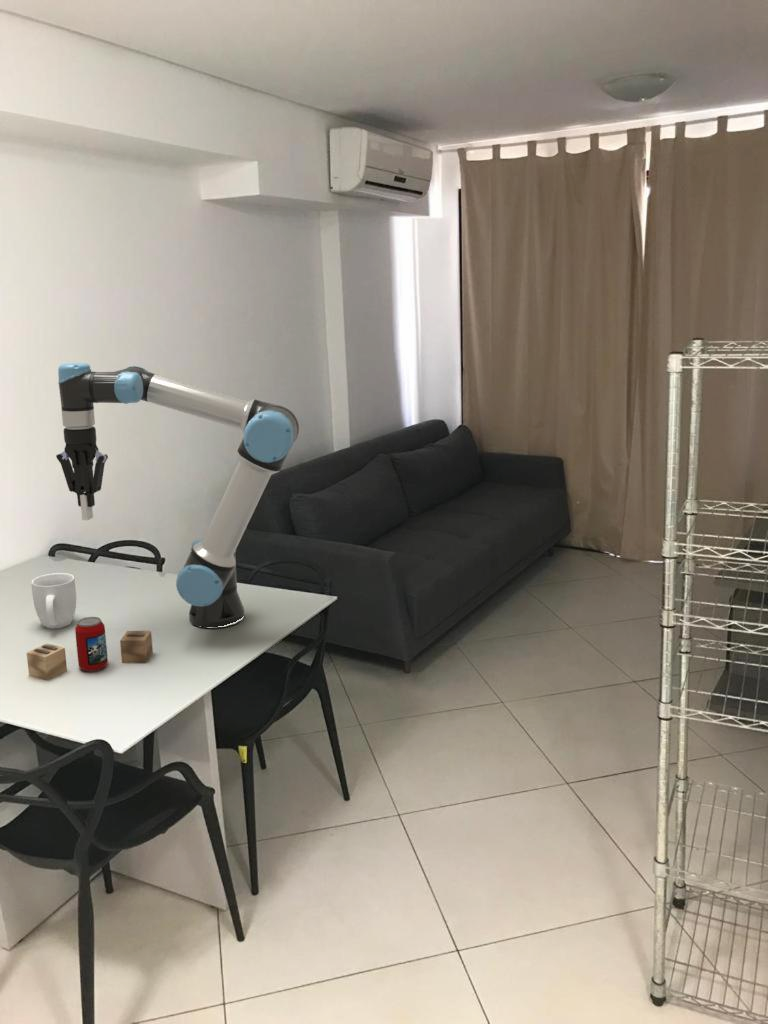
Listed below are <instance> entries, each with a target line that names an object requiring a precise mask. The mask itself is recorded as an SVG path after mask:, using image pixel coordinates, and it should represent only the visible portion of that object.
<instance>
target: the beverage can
mask: <svg viewBox="0 0 768 1024" xmlns="http://www.w3.org/2000/svg"><path fill="white" fill-rule="evenodd" d="M74 632H75V633H74V634H75V643H76V653H77V654H76V655H77V662H78V667H79V669H81V670H83V671H86V672H96V671H99V670H103V668H105V667H106V666H107V665H108V662H109V660H108V650H107V649H108V648H107V647H108V646H107V637H106V636H107V635H106V627H105V624H104V623H103V621H102V619H101V618H100V617H97V616H87V617H83V618H81V619H79V620H78V621H77V624H76V626H75V629H74Z"/></svg>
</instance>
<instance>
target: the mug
mask: <svg viewBox="0 0 768 1024" xmlns="http://www.w3.org/2000/svg"><path fill="white" fill-rule="evenodd" d="M76 590H77V588H76V581H75V576H74V575H73V574H70V573H66V572H56V573H53V572H52V573H47V574H43V575H39V576H37V577H34V578H33V579H32V580H31V593H32V594H31V595H32V598H33V599H32V600H33V606H34V610H35V613H36V615H37V617H38V619H39V621H40V622H41V624H42V625H43V626H44V627H45V628H47V629H51V630H54V629H62V628H65V627H68V626H69V625H70V624H71V623H72V622H73V620H74V617H75V614H76V613H75V612H76V611H77V610H76V609H77V591H76Z"/></svg>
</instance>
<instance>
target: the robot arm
mask: <svg viewBox="0 0 768 1024" xmlns="http://www.w3.org/2000/svg"><path fill="white" fill-rule="evenodd" d="M57 370H58V374H57V375H58V386H59V387H58V389H59V396H60V405H61V406H60V407H61V419H62V420H61V422H62V427H64V429H63V440H64V443H65V446H64V451H62V452H61V453H58V454H56V456H55V457H56V459H57V460H58V462H59V464H60V466H61V470H62V472H63V476H64V479H65V481H66V485H67V488H68V491H69V492H71V493H72V492H73V493H75V494H76V496H77V497H76V499H77V505H78V507H80V509H81V520H82V521H89V520H91V519H94V512H93V507H95V505H96V503H95V493H98V492H99V491H101V490H102V485H103V477H104V471H105V464H106V462H107V460H108V457H109V456H108V454H106V453H105V454H103V453H102V452H100V450H99V447H98V445H97V433H96V432H97V431H96V427H95V426H94V425H95V424H96V419H95V407H94V406H95V405H94V403H95V404H98V403H100V404H101V403H103V404H105V403H106V404H124V405H128V404H136V403H139V402H141V401H144V402H147V403H151V404H154V405H158V406H161V407H165V408H168V409H172V410H174V411H178V412H182V413H185V414H188V415H191V416H195V417H198V418H202V419H205V420H208V421H212V422H214V423H215V422H216V423H219V424H221V425H225V426H229V427H232V428H235V429H238V430H241V433H243V437H242V439H241V442H240V444H239V446H238V449H237V450H236V454H237V455H238V459H239V461H238V463H237V465H236V467H235V470H234V472H233V474H232V476H231V479H230V481H229V482H228V485H227V487H226V489H225V491H224V493H223V495H222V498H221V501H220V502H219V504H218V506H217V508H216V510H215V513H214V515H213V517H212V519H211V521H210V524H209V525H208V528H207V530H206V532H205V535H204V536H203V538H197V539H195V540H193V541H192V542H191V547H190V553H189V554H188V557H187V559H186V561H185V564H184V565H183V568H181V570H179V572H178V574H177V576H176V581H175V582H176V583H175V585H176V590H177V592H178V594H179V596H180V597H181V599H182V600H184V601H185V603H187V604H189V605H190V609H189V612H188V617H189V623H190V622H191V623H192V624H193V625H192V624H191V623H190V624H191V625H192V626H194V625H196V626H195V627H197V626H201V627H218V626H224V625H227V624H230V623H233V622H236V621H237V620H239V619H241V618H242V617H243V616H244V617H245V607H244V605H243V603H242V601H241V597H240V595H239V592H238V585H237V584H238V583H237V562H236V560H237V559H236V552H237V547H238V546H239V544H240V541H241V539H242V537H243V535H244V533H245V531H246V529H247V526H248V524H249V522H250V520H251V519H252V516H253V514H254V513H255V510H256V507H258V503H259V501H260V499H261V497H262V495H263V493H264V491H265V489H266V487H267V485H268V483H269V481H270V478H271V477H272V475H274V474H277V473H279V472H280V471H281V470H282V468H283V465H284V464H285V461H286V460H287V457H288V455H289V452H290V451H291V449H292V447H293V445H294V443H295V442H296V440H297V439H298V435H299V432H300V431H299V430H300V425H299V420H298V418H297V416H295V415H296V414H294V412H293V411H292V410H290V409H288V408H287V407H285V406H282V405H279V404H274V403H270V402H266V401H262V400H259V399H258V400H257V399H256V398H254V399H252V400H251V399H250V400H249V401H248V400H245V399H242V398H241V399H240V398H238V397H234V396H231V395H228V394H224V393H220V392H218V391H214V390H211V389H207V388H206V387H205V388H204V387H202V386H198V385H194V384H191V383H188V382H184V381H180V380H178V379H174V378H170V377H167V376H163V375H160V374H157V373H153V372H150V371H148V370H147V369H146V368H145V367H141V366H136V365H132V366H127V367H126V368H123V369H120V370H116V371H115V370H114V371H92V369H91V366H90V364H89V363H87V362H86V363H85V362H69V363H63V364H60V365H59V366H58V369H57ZM94 460H95V461H96V462H95V463H94ZM94 464H95V466H94ZM93 468H94V469H93ZM201 627H200V628H201Z"/></svg>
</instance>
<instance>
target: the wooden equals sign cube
mask: <svg viewBox="0 0 768 1024" xmlns="http://www.w3.org/2000/svg"><path fill="white" fill-rule="evenodd" d="M26 660H27V668H28V669H27V670H28V675H29V677H33V678H37V679H39V680H43V681H44V680H45V681H48V682H49V681H50V680H52V679H53V678H55V677H58V676H59V675H61V674H63V673H64V672H67V671H68V665H67V657H66V647H63V646H59V645H55V644H51V643H47V642H46V643H44V644H41V645H39V646H38V647H35V648H34V649H32V650H30V651H27V652H26Z"/></svg>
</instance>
